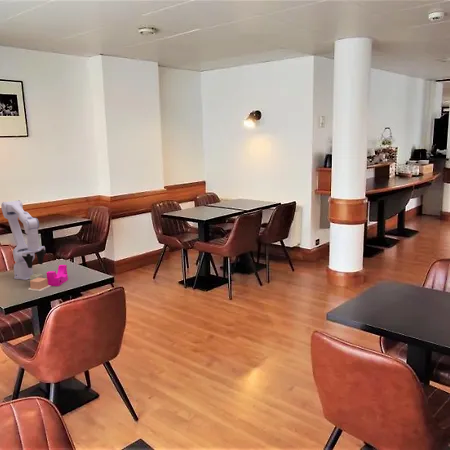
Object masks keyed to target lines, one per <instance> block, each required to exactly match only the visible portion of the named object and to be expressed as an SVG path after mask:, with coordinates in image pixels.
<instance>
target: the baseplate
mask: <svg viewBox="0 0 450 450" xmlns="http://www.w3.org/2000/svg"><path fill="white" fill-rule="evenodd" d="M49 288H52V286H51V285H48V286H47V287H45V288H42V289H31V287H28V288H27V291H33V292H42V291H45V290H47V289H49Z"/></svg>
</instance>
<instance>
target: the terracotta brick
mask: <svg viewBox="0 0 450 450" xmlns="http://www.w3.org/2000/svg"><path fill="white" fill-rule="evenodd" d="M29 285H30V286H29V288H31V289H42V288H45V287H47V286H48V279H47V277H43V278H36V279H34V280H31V281H30V280H29Z"/></svg>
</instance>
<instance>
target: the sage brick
mask: <svg viewBox="0 0 450 450" xmlns="http://www.w3.org/2000/svg"><path fill="white" fill-rule="evenodd" d="M36 278H44V275H43V274H42V273H33V275H31V276H30V279H29V282H30V281H31V280H34V279H36Z"/></svg>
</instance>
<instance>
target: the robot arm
mask: <svg viewBox="0 0 450 450" xmlns="http://www.w3.org/2000/svg"><path fill="white" fill-rule="evenodd" d="M0 206H1V212H2V215H3V218H4V219H7V221H8V225H9V227H10V230H11V231H10V232H12V236H13V237H12V238H13V240H14V244H15V245H16V247H14V249H12V255H13V261H14V262H15V263H14V264H13V272H14V277H13V280H14V279H16V280H24V281H27V280H30V276H31V275H33V274H34V270H33V261H34V260H35V258H36V257H37V264H38V265H43V264H44V258H45V256H46V253H47V251H46V247H45V245H42V246H40V239H39V230H38V229H40V221H39V219H38V218H37V217H33V216H32V215H31V214H30V213H29V212H28V211H25V210H24V209H23V208H24V207H23V206H24V205H23V203H22V201H21V200H19V199H18V200H13V201H2V202H1V205H0ZM19 222H21V223H22V224H23V229H24V233H25V234H26V241H25V238H24V234H23V232H22V228H21V225H20V223H19ZM35 254H36V257H35Z"/></svg>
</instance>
